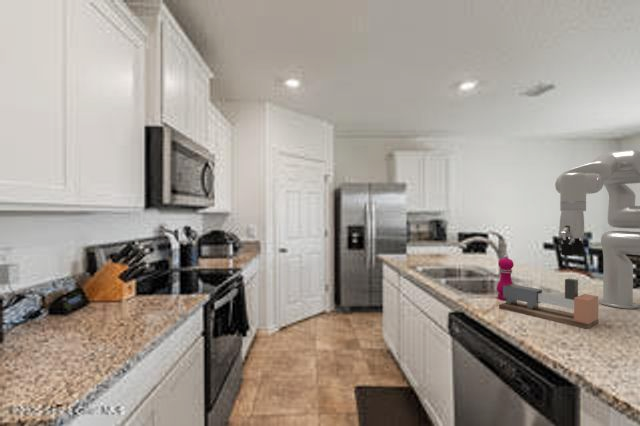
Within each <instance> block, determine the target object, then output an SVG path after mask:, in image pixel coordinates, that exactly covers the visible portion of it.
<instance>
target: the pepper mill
mask: <svg viewBox="0 0 640 426" xmlns="http://www.w3.org/2000/svg"><path fill="white" fill-rule="evenodd" d="M514 265H515V264H514V261H513V260H512V259H511V258H509V256H508V255H507V254H504V255H503V257H502V258H500V259H499V260H498V267H499V273H500V278H499V281H498V283H497V286H496V291H497V292H498V294H497V299H498V300H501V301H506V298H504V297H503V285H507V284H513V285H514V283H513V281H512V273H513V269H512V268H513V267H514Z"/></svg>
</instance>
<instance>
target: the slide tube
mask: <svg viewBox="0 0 640 426" xmlns="http://www.w3.org/2000/svg"><path fill="white" fill-rule="evenodd" d="M578 296H579V280H578V279H576V278H575V279H574V278H565V279H564V295H558V294H555V293H547V292H543V291H542V292H537V302H541V304H542V303H543V304H548V305H552V306H557V307H558V306H559V307H561V308H562V307H563V308H568V309H573V310H574V298H575V297H578Z"/></svg>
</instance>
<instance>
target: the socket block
mask: <svg viewBox="0 0 640 426" xmlns="http://www.w3.org/2000/svg"><path fill="white" fill-rule="evenodd" d="M598 300H599V296H598V295H593V294H588V293H584V294H582V295H578V297H575V298H574V309H573V313H574V321H576V322H580V323H585V324H589V323H591V322H593V321H595V320H597V319H599V302H598Z"/></svg>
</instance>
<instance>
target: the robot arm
mask: <svg viewBox="0 0 640 426" xmlns="http://www.w3.org/2000/svg"><path fill="white" fill-rule="evenodd" d="M628 184H629V185H630V184H631V185H632V184H640V151H639V150H638V149H626V150H618V151H616V150H615V151H609V152H605V153H602V154H601V155H599V156H598V157H596V158H595V159H594V160H593V161H591V162H589V163H586V164H582V165H580V166H579V165H578V166H577V167H573V168H571V169H568V170H566V171H564V172H562V173H561V174H560V175H559V176H558V177H556V181H555V183H554V185H555V186H554V187H555V190H556V192H557V193H559V194H560V195H559V196H560V201H559V203H560V205H559V211H560V218H559V230H558V237H559V238H560V239H561V256H567V257H571V256H572V257H573V255H574V254H578V255H582V254H584V236H585V216H584V212H587V195H590V194H596V193H598V192H600V191H601V190H602V188H603V187H605V190H606V191H607V193H608V207H607V208H608V209H607V223H608V225H609V226H610V227H612V228H617V229H632V230H633V229H634V230H635V229H637V230H640V205H636V193H635V192H634V191H633V189H632V188H631V187H629V186H628ZM600 243H601V244H600V245H601V250H602V255H603V257H602V258H603V275H602V276H603V277H602V279H603V280H602V284H603V286H602V298H598V304H599V305H600V304H601V305H603V306H607V307H612V308H619V309H628V310H631V309H632V310H634V309H638V304H637V303H635V302H633V301H634V299H633V298H634V297H633V296H634V291H633V290H634V264H633V261H631V259H630V258H629V256H627V255H633V256H640V231H627V230H610V231H606V232H604V233H603V234H602V235H601V237H600Z"/></svg>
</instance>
